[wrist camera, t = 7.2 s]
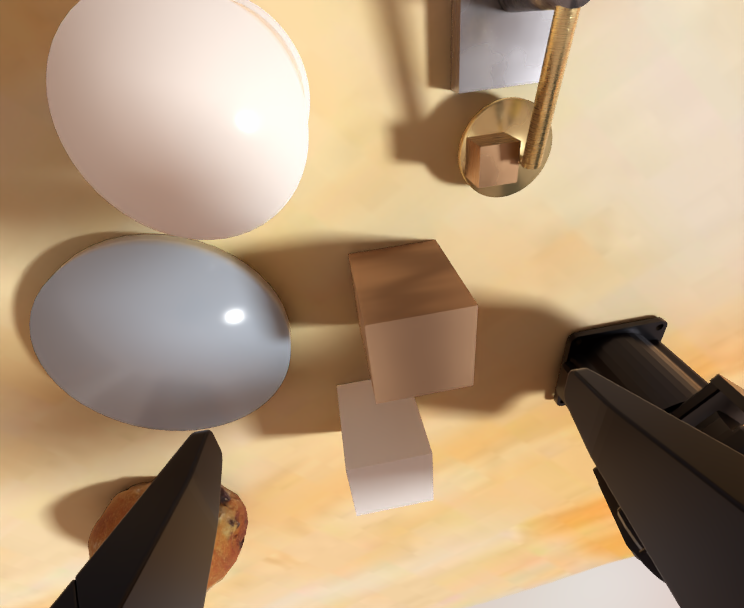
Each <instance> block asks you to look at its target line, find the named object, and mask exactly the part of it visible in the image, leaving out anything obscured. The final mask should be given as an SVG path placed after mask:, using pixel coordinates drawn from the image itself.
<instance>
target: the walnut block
mask: <svg viewBox="0 0 744 608" xmlns="http://www.w3.org/2000/svg"><path fill="white" fill-rule="evenodd" d="M348 256H349V262H350V268H351V275H352V281H353V288H354V294H355V301H356V307H357V313H358V320H359V326H360V330H361V335H362V340H363V345H364V349H365V354H366V359H367V363H368V368H369V373H370V378H371V382H372V387H373V392H374V397H375V401H376V404H380V403H385V402H390V401H395V400H400V399H406V398H411V397H416V396H421V395H426V394H432V393H437V392H442V391H447V390H452V389H458V388H463V387H468V386H473V384H474V366H475V349H476V332H477V315H478V304H477V303H476V301H475V300H474V298H473V297H472V295H471V294H470V292H469V291H468V289H467V288H466V286H465V285H464V283H463V281H462V280H461V278H460V277H459V275H458V274H457V272H456V271H455V269H454V268H453V266H452V265H451V263H450V261H449V260H448V258H447V257H446V255H445V254H444V252H443V251H442V249H441V248H440V246H439V245H438V243H437V242H436V240H430V241H424V242H418V243H412V244H406V245H400V246H394V247H388V248H382V249H376V250H370V251H364V252H358V253H352V254H348Z"/></svg>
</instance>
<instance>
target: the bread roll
mask: <svg viewBox="0 0 744 608" xmlns="http://www.w3.org/2000/svg"><path fill="white" fill-rule="evenodd" d="M152 482H153V481H152ZM152 482H148V483H140V484H137V485H134V486H131V487H130V488H129V489H128V490H126V491H123V492H120V493H118V494H117V495H116V497H114V498H113V499H111V502H110V504H109V506H108V507H107V508H106V510H105V511H104V513H103V515H102V516H101V518H100V519H99V520H98V521H97V523H96V524H95V526H94V528H93V530H92V532H91V534H90V537H89V541H88V549H89V556H90V558H91V557H92V556H93V554H94V553H95V552H96V551H97V549H98V548H99V547H100V546H101V544H102V543H103V542H104V541H105V540H106V538H107V537H108V536H109V535H110V533H111V532H112V531H113V530H114V528H115V527H116V526H117V525H118V524H119V522H120V521H121V520H122V519H123V517H124V516H125V515H126V514H127V512H128V511H129V510H130V509H131V508H132V506H133V505H134V504H135V503H136V501H137V500H138V499H139V498H140V496H141V495H142V494H143V493H144V491H145V490H146V489H147V488H148V487H149V485H150V484H151V483H152ZM247 524H248V519H247V511H246V507H245V506H244V504H243V502H242V501H241V499H240V498H239V496H238V495H237V494H235V493H234V492H232V491H230V490H228V489H227V488H225V487H224V486H223V485H221V490H220V505H219V519H218V527H217V533H216V539H215V545H214V551H213V556H212V562H211V568H210V573H209V579H208V585H207V590H206V592H207V591H208V590H209V589H210V588H211V587H212V586H213V585H214V584H216V583H218V582H219V581H221V580H222V579H223V578H224V576H225V575H226V574H227V572H228V571H229V570H230V568H231V567H232V566H233V564H234V563H235V562H236V560H237V557H238V555H239V553H240V550H241V548H242V545H243V542H244V536H245V535H246V529H247ZM90 558H89V559H90Z"/></svg>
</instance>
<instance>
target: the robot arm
mask: <svg viewBox="0 0 744 608" xmlns="http://www.w3.org/2000/svg"><path fill="white" fill-rule="evenodd" d="M666 327H667V322H666V321H665V320H663V319H662V318H660V317H657V318H652V319H646V320H641V321H635V322H630V323H625V324H619V325H614V326H608V327H603V328H598V329H592V330H587V331H581V332H576V333H573V334H572V335H570V336H569V337H568V339H567V343H566V348H565V352H564V356H563V361H562V365H561V368H560V373H559V377H558V381H557V386H556V391H555V395H554V401H555V402H556V403H557V405H559V406H563V405H566V406H567V408H568V409H569V411H570V413H571V416H572V418H573V420H574V422H575V424H576V426H577V429H578V431H579V433H580V435H581V437H582V439H583V442H584V444H585V446H586V448H587V450H588V452H589V454H590V456H591V458H592V460H593V461H594V463H595V465H596V467H595V468H594V469H593V471H594V474H595V476H596V478H597V480H598V484H599V486H600V488H601V491H602V493H603V495H604V497H605V499H606V502H607V504H608V506H609V508H610V510H611V512H612V515H613V517H614V519H615V521H616V523H617V526H618V528H619V530H620V532H621V534H622V537H623V539H624V541H625V543H626V545H627V546H628V548H629V549H630V550H631V551H632V553H633V554H634V556H635V557H636V558H637V559H639V560H641V561H642V562H643V564H644V565H645V566H646V567H647V568H648V569H649V570H650V571H651V572H652V573H653V574H654V575H656V576H657V577H658V578H659V579H660V580H662V581H663V582H665V583H666V584H667V586H668V588H669V589H670V591H671V592H672V594H673V596H674V598H675V599H676V601H677V603H678V604H679V606H680V608H744V426H743V425H744V389H742V388H741V387H739V386H737V385H736V384H734V383H733V382H731V381H729V380H728V379H726V378H725V377H723V376H721V375H720V374H717V375H716V376H715V377H713V378H712V379H711V380H710V381H711V382H710V383H709V384H708V383H707V382H706V381H705V380H704V379H703V378H701V377H700V376H699V375H698V374H697V373H696V372H695V371H693V370H692V369H691V368H690V367H689V366H688V365H686V364H685V363H684V362H683V361H682V360H681V359H680V358H678V357H677V356H676V355H675V354H674V353H673V352H672V351H670V350H669V349H668V348H667V347H666V346H665V345H663V344H662V343H661V339H662V337H663V334H664V332H665V329H666ZM221 474H222V452H221V449H220V447H219V445H218V443H217V441H216V439H215V437H214V435H213V433H212V432H211V431H210V430H204V431H198V432H194V433H192V434H191V435H190V436H189V437H188V439H187V440H186V441H185V442H184V443H183V445H182V446H181V447H180V448H179V450H178V451H177V452H176V453H175V455H174V456H173V457H172V458H171V459H170V461H169V462H168V463H167V464H166V466H165V467H164V468H163V469H162V471H161V472H160V473H159V474H158V475H157V477H156V478H155V479H154V480H153V482H152V483H151V484H150V485H149V487H148V488H147V489H146V490H145V491H144V493H143V494H142V495H141V496H140V498H139V499H138V500H137V501H136V503H135V504H134V505H133V506H132V508H131V509H130V510H129V511H128V512H127V514H126V515H125V516H124V517H123V519H122V520H121V521H120V522H119V524H118V525H117V526H116V527H115V528H114V530H113V531H112V532H111V533H110V535H109V536H108V537H107V538H106V540H105V541H104V542H103V543H102V544H101V546H100V547H99V548H98V549H97V551H96V552H95V553H94V554H93V556H92V557H91V558H90V559H89V560H88V562H87V563H86V564H85V565H84V567H83V568H82V569H81V570H80V572H79V573H78V574H77V575H76V577H75V580H72V581H71V582H70V584H69V585H68V586H67V587H66V589H65V590H64V591H63V592H62V594H61V595H60V596H59V597H58V598H57V600H56V601H55V602H54V603H53V604H52V606H51V607H50V608H203V607H204V602H205V596H206V590H207V585H208V579H209V573H210V568H211V562H212V556H213V551H214V545H215V539H216V533H217V527H218V519H219V505H220V490H221Z"/></svg>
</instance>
